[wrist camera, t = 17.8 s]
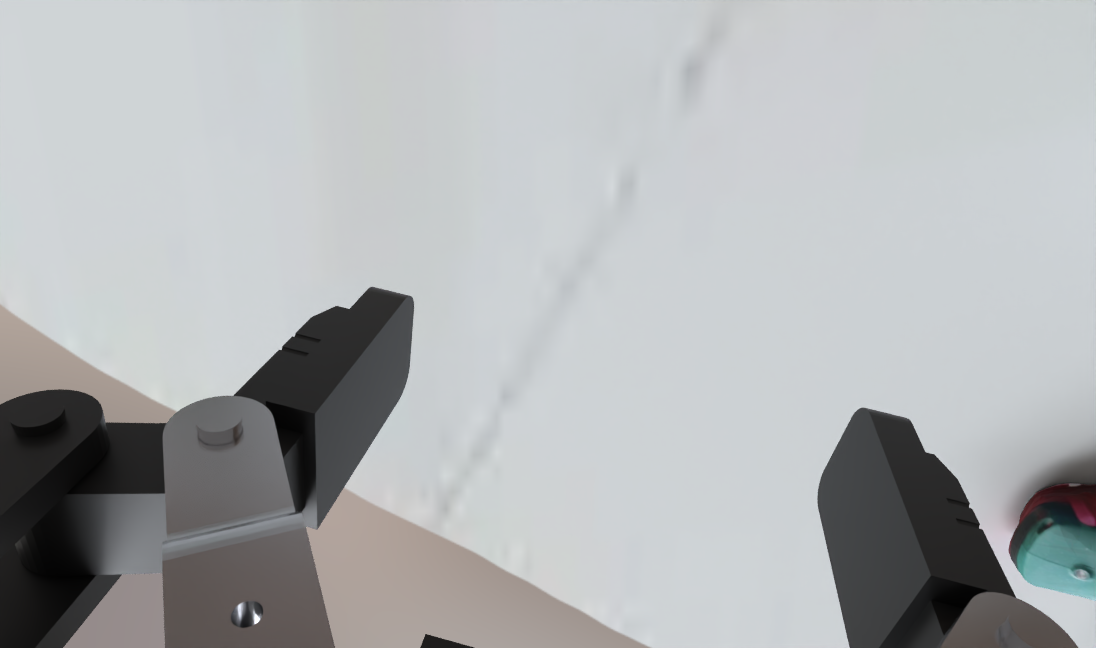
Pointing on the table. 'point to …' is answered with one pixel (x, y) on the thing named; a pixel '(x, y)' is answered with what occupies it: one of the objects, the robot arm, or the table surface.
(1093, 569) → the power drill
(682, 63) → the table surface
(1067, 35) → the table surface
